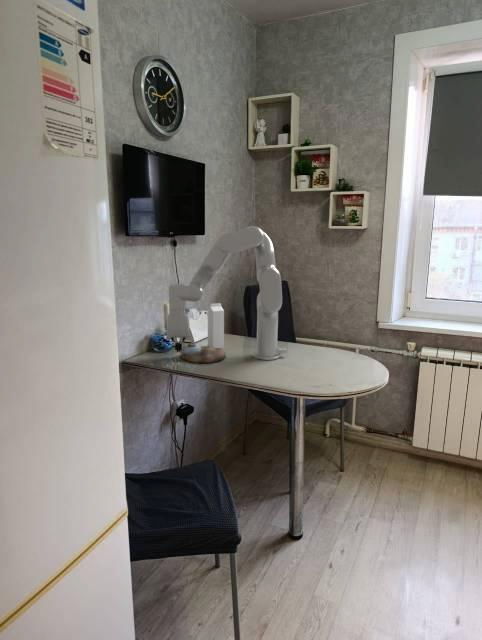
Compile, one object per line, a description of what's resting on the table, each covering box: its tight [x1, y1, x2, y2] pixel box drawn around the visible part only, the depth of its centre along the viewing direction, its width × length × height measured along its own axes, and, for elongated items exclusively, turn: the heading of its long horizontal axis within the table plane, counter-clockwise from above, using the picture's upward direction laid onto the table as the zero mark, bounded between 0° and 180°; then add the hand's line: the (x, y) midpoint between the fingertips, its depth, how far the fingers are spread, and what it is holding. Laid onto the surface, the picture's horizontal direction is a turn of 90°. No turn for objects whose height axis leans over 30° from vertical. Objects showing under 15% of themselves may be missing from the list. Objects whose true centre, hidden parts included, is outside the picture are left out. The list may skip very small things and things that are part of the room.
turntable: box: [181, 346, 227, 364], centre depth 199 cm, size 20×20×2 cm
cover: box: [182, 343, 202, 355], centre depth 197 cm, size 8×8×4 cm
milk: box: [207, 302, 225, 349], centre depth 214 cm, size 6×6×22 cm
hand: (178, 351), depth 197 cm, fingers closed
